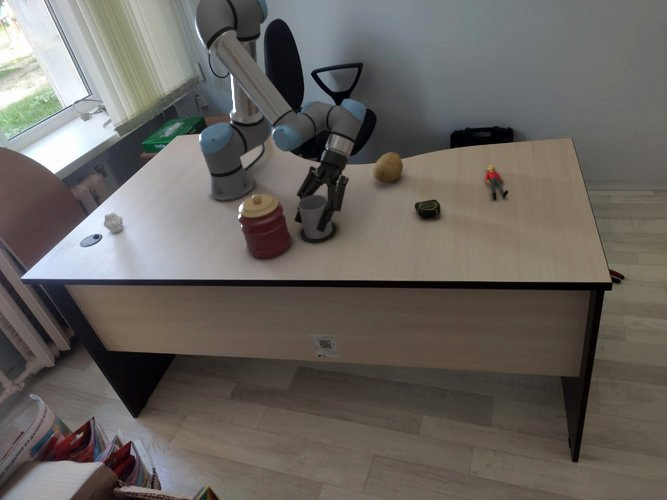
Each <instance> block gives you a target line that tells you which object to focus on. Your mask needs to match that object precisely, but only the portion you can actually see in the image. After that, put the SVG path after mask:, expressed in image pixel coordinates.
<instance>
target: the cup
mask: <svg viewBox="0 0 667 500" xmlns="http://www.w3.org/2000/svg"><path fill="white" fill-rule="evenodd" d="M298 207H299V211H300V216H301V220H302V229H303V228H304V233H305V235H306V237H308V238H310V239H320V238H324V237H326V236H328V235H329V234H330V233H331V232H332V223H333V222H332V219H331V220H330V222H328V223H327V226H326V228H325V231H324V232H321V231H318V230H316V229H317V227H318V224H319V221H320V219H321V216H322V214H323V211H324V208H325V209H326V207H327V197H326V196H324V195H321V194H313V195H311V196H307V197H305V198H303V199H302V200H301V201H300V200H299V201H298V204H297V208H298ZM327 210H328V209H327ZM331 222H332V223H331Z"/></svg>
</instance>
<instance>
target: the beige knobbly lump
mask: <svg viewBox="0 0 667 500" xmlns="http://www.w3.org/2000/svg"><path fill="white" fill-rule="evenodd" d="M123 225H124V221H123V217H122V216H120V215H118V214H116V213H115V212H114V211H110V212H108V213H106V214H105V215H104V221H103V227H105V228H106V229H107V230H108V231H110V232H112V233H114V234H115V233H116V234H117V233H119V232H121V231H122V230H123Z"/></svg>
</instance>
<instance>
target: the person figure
mask: <svg viewBox="0 0 667 500" xmlns="http://www.w3.org/2000/svg"><path fill="white" fill-rule="evenodd" d="M486 170H487V173H486V174H485V182H486V184H490V185H491V193H492V199H493V201H496V200H497V192H496V185H497V187H498V189H499V192H500V194H501V196H502V198H506V197H507V195H509V190H507V189H506V190H505V191H504V188H503V184H504V180H503V179H502V178H501V176H500V173H498V172H497V171H496V167H495V165H494V164H489V165H488V166H487V168H486ZM489 179H490V180H489Z"/></svg>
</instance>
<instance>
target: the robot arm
mask: <svg viewBox="0 0 667 500" xmlns="http://www.w3.org/2000/svg"><path fill="white" fill-rule="evenodd" d="M268 16H269V9H268V4H267V2H266V0H199V1H198V2H197V4H196V7H195V11H194V25H195V29H196V34H197V36H198V38H199V40H200V42H201V44H202V45H203V47H204V48H205V50H206V51H207V52H208V54H209V55H210V56H212V57H214V56H215V57H216V58H217V59H218V61H220V63H221V64H222V65H223V66H224V68H225V69H226V70H227V72H228V73H229V74H230V80H231V81H230V82H231V91H232V101H233V107H232V109H231V110H230V112H229V115H230V116H229V118H230V122H229V123H228V122H216V124H211V125H209V126H208V127H206V128H204V130H202V131H201V133H200V134H199V137H198V142H199V147H200V151H201V152H202V156H203V158H204V160H205V163H206V166H207V169H208V172H209V175H210V194H211V196H212V198H213V199H214V200H216V201H219V202H229V201H235V200H238V199H241V198H244V197H245V196H246V195H248V194H249V193H251V191H252V190H253V189H254V186H255V185H254V181H253V179H252V178H251V176H250V175H249V173H248V171H247V170H249V169H250V168H251V167H252V166H254V164H255V163H256V162H257V161H259V160H260V159H261V157H262V156H263V155H264V153H265V150H266V149H265V148H266V147H265V142H267V141H268V140H269V139H270V137H271V136H272V137H271V138H272V140H273V141H274V145H275V146H276V147H277V148H278V149H279V150H280V151H282V152H285V153H288V152H291V151H293V150H295V149H297V148H299V147H301V146H302V145H303V144H304V143H306V142H307V141H309V140H310V139H312V138H313V137H315V136H317V135H318V134H320V133H321V132H323V131H327V132H330V134H329V136H328V139H327V142H326V143H325V146H324V148H325V149H324V150H323V152H322V154H321V157H320V164H319V166H318V167H315V166H313V165H311V166H310V167H309V169H308V172H307V175H306V176H305V178H304V180H303V182H302V184H301V186H300V187H299V189H298V191H297V192H296V196H297V197H298V198H299V202H300V201H301V200H302V199H303V198H305V197H307V196H311V195H315V194H316V192H317V191H318V190H319V189H320V187H322V186H323V185H326V188H327V197H326V199H327V207H326V209H325V208H324V211H323V214H322V216H321V219H320V221H319V224H318V227H317V229H316V230H318V231H321V232H324V231H325V228H326V226H327V223H328V222H330V220H331V221H332V218H333V214H334V213H335V212H341V211H342V208H343V207H342V206H343V202H344V197H345V192H346V188H347V185H348V183H349V181H350V178H349V177H347V176H345V174H343V171H344V170H346V167H347V164H348V161H349V159H348V158H349V157H350V156H351V153H352V150H353V148H354V145H355V143H356V141H357V137H358V135H359V132H360V130H361V128H362V126H363V123H364V120H365V116H366V113H367V107H366V106H365V105H364V104H363V103H361V102H359V101H357V100H356V99H355V100H354V99H351V98H343V100H342V102H341V103H340V105H336V104H332V103H327V102H323V101H320V100H319V101H318V100H309V101H306V102H304V104H303V106H302V107H301V110H300V113H299V114H297V113H296V112H295V110H294V109H293V108H292V107H291V106H290V105H289V102H287V101H286V100H285V98H284V96H282V94H281V93H280V91H279V90H278V89H277V88H276V87H275V85H274V84H273V83H272V81H271V80H270V79H269V78H268V76H267V75H266V74H265V73H264V71H263V70H262V69H261V67H260V66H259V65H258V53H257V41H258V40H259V39H260V37H261V33H262V32H261V25H262V24H264V23H265V21H266V20H267V18H268ZM272 128H273V130H272ZM258 147H262V149H261V152H260V153H259V155H258V156H257V157H255V159H253V161H252V162H250V163H249V164H248V165H247V166H246V167H245V168H244V166H243V162H242V159H241V157H243V156H244V155H246V154H248V153H249V152H251V151H253V150H254V149H256V148H258ZM327 209H328V210H327ZM296 210H297V212H296V215H295V217H294V220H293V221H294V222H296V223H298V224H302V220H301V216H300V211H299V207H298V206H297V208H296ZM302 225H303V224H302Z"/></svg>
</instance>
